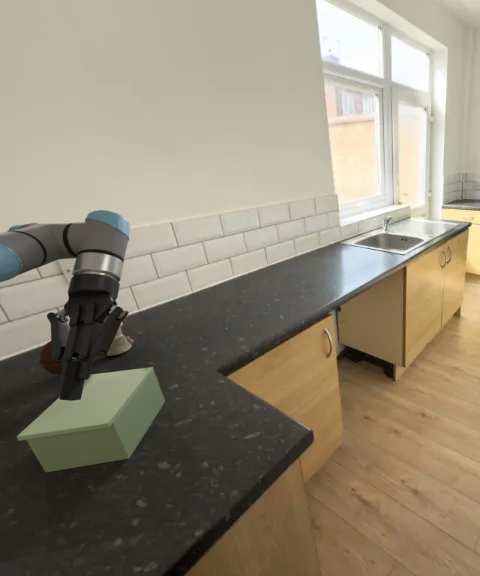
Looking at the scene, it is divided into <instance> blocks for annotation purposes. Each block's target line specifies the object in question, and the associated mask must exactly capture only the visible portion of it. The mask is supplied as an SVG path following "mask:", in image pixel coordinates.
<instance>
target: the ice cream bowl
mask: <svg viewBox="0 0 480 576" xmlns="http://www.w3.org/2000/svg"><path fill="white" fill-rule="evenodd" d="M39 358H40V359H38V361H37V362H38V364H39V365H41V367H42V368H43V369H44V370H45V371H46V372H48V373H49V374H52V375H57V376H61V373H62V368H63V362H61V361H56V360H53V359H52V352H51V340H50V341H48V342H46V344H44V346H42V348H41V349H40V352H39Z"/></svg>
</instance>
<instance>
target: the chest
mask: <svg viewBox="0 0 480 576" xmlns="http://www.w3.org/2000/svg"><path fill="white" fill-rule="evenodd" d="M165 403H166V400H165V397H164V394H163V392H162V389H161V386H160V383H159V381H158V377H157V374H156V371H155V370H154V371H153V372H152V373H151V375H150V376H149V377H148V378H147V380H146V381H145V382H144V384H143V385H142V386H141V387H140V389H139V390H138V391H137V393H136V394H135V395H134V396H133V398H132V399H131V400H130V402H129V403H128V404H127V405H126V407H125V408H124V409H123V411H122V412H121V413H120V414H119V416H118V417H117V418H116V420H115V421H114V422H113V423H112V425H111V426H110V427H107V428H100V429H94V430H87V431H80V432H74V433H67V434H60V435H54V436H47V437H40V438H34V439H27V440H25V441H26V442H27V444H28V445H29V447H30V449H31V451H32V452H33V454H34V455H35V457H36V459H37V461H38V463H39V464H40V466H41V467H42V469H43V470H44V472H45V473H52V472H56V471H63V470H68V469H76V468H80V467H87V466H92V465H98V464H99V465H100V464H104V463H111V462H116V461H117V462H118V461H123V460H129V459H130V458H131V457H132V455H133V453H134V452H135V450H136V449H137V447H138V446H139V444H140V442H141V441H142V440H143V438H144V436H145V435H146V433H147V431H148V430H149V428H150V427H151V426H152V423H153V422H154V420H155V419H156V418H157V416H158V414H159V412H160V411H161V409H162V408H163V406H164V404H165Z"/></svg>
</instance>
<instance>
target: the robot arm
mask: <svg viewBox="0 0 480 576" xmlns="http://www.w3.org/2000/svg"><path fill="white" fill-rule="evenodd" d="M130 228H131V224H130V222H129V221H128V220H127V218H126V217H125V216H123V215H121V214H119V213H117V212H114V211H111V210H105V209H95V210H93V211H90V212H89V213H87V216H86V217H85V218H84V221H77V222H61V223H60V222H59V223H57V222H55V223H52V222H51V223H50V222H49V223H38V222H31V223H25V224H24V223H23V224H15V225H12V226H10V227H9V228H8V229H7V230H6V231H4V232H0V283H3V282H6V281H8V280H9V281H10V280H13V278H16V277H17V276H20V275H22V274H26V273H27V272H30V271H32V270H35V269H39V268H41V267H43V266H45V265H48V264H51V263H53V262H57V261H60V260H68V259H69V260H70V259H71V260H72V259H75V261H74V265H73V268H72V273H71V275H72V277H70V281H69V285H68V289H67V295H68V299H67V301H66V302H65V304H64V305H63V308H62V309H60V310H59V311H57V312H52V311H51V312H49V313H47V314H46V318H47V319H48V321H49V323H50V341H51V352H52V359H53V360H56V361H61V362H63V368H62V373H61V375H59V376H60V377H59V380H60V382H62V386H61V391H60V395H59V397H60V399H59V400H68V401H74V400H81V396H82V391H83V387H84V382H85V380H88V379H89V377H90V375H91V373H92V369H93V364H94V363H95V361H97V360H99V359H104V358H106V357H107V356H106V355H107V353H108V351H109V349H110V346H111V344H112V342H113V340H114V338H115V335H116V333H117V331H118V329H119V326H120V324H121V322H122V323H123V321H124V320H125V318H126V317H127V316H129V313H130V312H129V311H128V310H127V309H125V308H123V307H121V306H118V303H117V301H116V300H117V299H118V297H119V291H120V285H121V284H120V281H122V280H121V279H122V275H123V269H124V264H125V257H126V252H127V248H128V244H129V241H130ZM108 315H109V316H108ZM107 316H108V317H107ZM106 317H107V319H106V321H105V318H106ZM67 322H69V326H70V330H69V332H68V324H67ZM101 329H102V330H101Z"/></svg>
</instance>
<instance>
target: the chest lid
mask: <svg viewBox="0 0 480 576" xmlns="http://www.w3.org/2000/svg"><path fill="white" fill-rule="evenodd" d="M153 371H154V372H155V368H154V367H153V366H150V367H141V368H134V369H133V368H132V369H126V370H118V371H110V372H102V373H101V372H100V373H93V374H90V377H89V379H88V380H85V382H84V387H83V391H82V396H81V400H74V401H68V400H59V399H60V396H59V397H58V398H57V399H56V400H55V401H54V402H53V403H51V405H49V406H48V407H47V408H46V409H45V410H44V411H43V412H42V413H40V415H38V417H36V418H35V419H34V420H33V421H32V422H31V423H30V424H28V426H27V427H25V428H24V429H23V430H22V431H21V432H20V433H19V434H18V435H17V436H16V439H17V441H26V440H27V439H34V438H40V437H47V436H54V435H60V434H67V433H74V432H80V431H87V430H94V429H100V428H107V427H110V426H111V425H112V423H113V422H114V421H115V420H116V418H117V417H118V416H119V414H120V413H121V412H122V411H123V409H124V408H125V407H126V405H127V404H128V403H129V402H130V400H131V399H132V398H133V396H134V395H135V394H136V393H137V391H138V390H139V389H140V387H141V386H142V385H143V384H144V382H145V381H146V380H147V378H148V377H149V376H150V375H151V373H152V372H153Z"/></svg>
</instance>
